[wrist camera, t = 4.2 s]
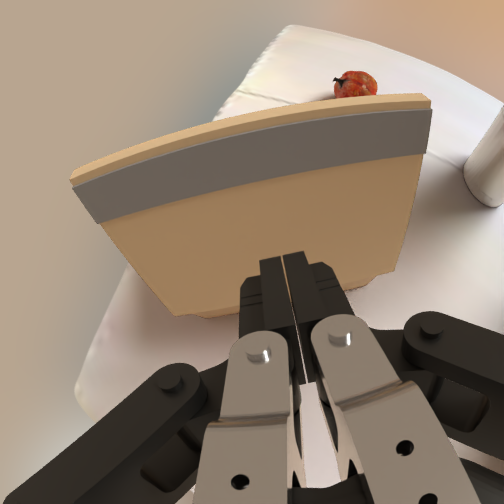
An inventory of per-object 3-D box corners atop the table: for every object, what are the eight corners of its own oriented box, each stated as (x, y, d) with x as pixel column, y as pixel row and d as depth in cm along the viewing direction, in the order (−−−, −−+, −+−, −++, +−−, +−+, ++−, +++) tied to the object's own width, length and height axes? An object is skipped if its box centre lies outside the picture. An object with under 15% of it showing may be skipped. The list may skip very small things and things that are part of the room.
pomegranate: (363, 100, 46) (321, 71, 42) (393, 85, 40) (350, 50, 36) (362, 132, 45) (317, 102, 41) (395, 117, 39) (349, 81, 34)
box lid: (390, 262, 25) (394, 272, 25) (174, 307, 27) (174, 318, 26) (422, 93, 13) (433, 101, 12) (74, 169, 14) (67, 181, 14)
